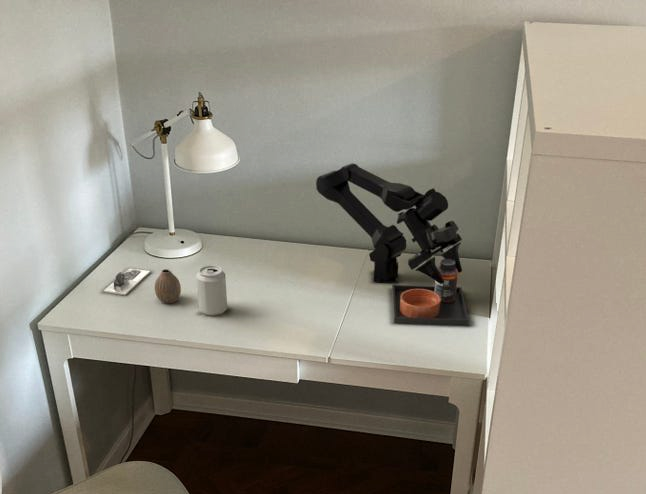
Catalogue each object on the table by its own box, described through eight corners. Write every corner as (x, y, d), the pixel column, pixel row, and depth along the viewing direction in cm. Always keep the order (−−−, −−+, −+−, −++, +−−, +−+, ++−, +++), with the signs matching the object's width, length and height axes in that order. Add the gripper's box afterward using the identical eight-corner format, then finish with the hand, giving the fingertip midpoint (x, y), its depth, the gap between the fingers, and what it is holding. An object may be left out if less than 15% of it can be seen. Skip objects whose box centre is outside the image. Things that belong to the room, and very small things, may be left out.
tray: (393, 323, 207) (394, 317, 206) (392, 290, 223) (392, 284, 222) (468, 325, 207) (468, 320, 206) (460, 292, 223) (461, 287, 222)
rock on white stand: (125, 295, 218) (123, 280, 215) (103, 292, 219) (101, 277, 217) (150, 272, 230) (148, 258, 228) (129, 269, 231) (127, 255, 229)
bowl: (400, 320, 209) (401, 306, 207) (398, 301, 218) (399, 288, 216) (440, 321, 208) (442, 307, 206) (437, 302, 217) (439, 289, 215)
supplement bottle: (448, 292, 222) (452, 255, 216) (459, 301, 218) (463, 264, 212) (429, 296, 220) (433, 258, 214) (440, 305, 216) (444, 267, 210)
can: (232, 306, 213) (230, 266, 207) (219, 319, 207) (217, 277, 201) (207, 301, 215) (204, 261, 209) (194, 314, 209) (190, 273, 203)
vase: (186, 297, 217) (184, 268, 213) (172, 308, 212) (169, 278, 207) (165, 292, 220) (162, 263, 215) (151, 302, 214) (147, 273, 210)
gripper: (420, 224, 202) (453, 275, 202) (459, 204, 214) (490, 253, 214) (393, 244, 210) (425, 294, 210) (432, 224, 223) (462, 271, 223)
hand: (451, 277), depth 214 cm, fingers open, 9 cm apart
